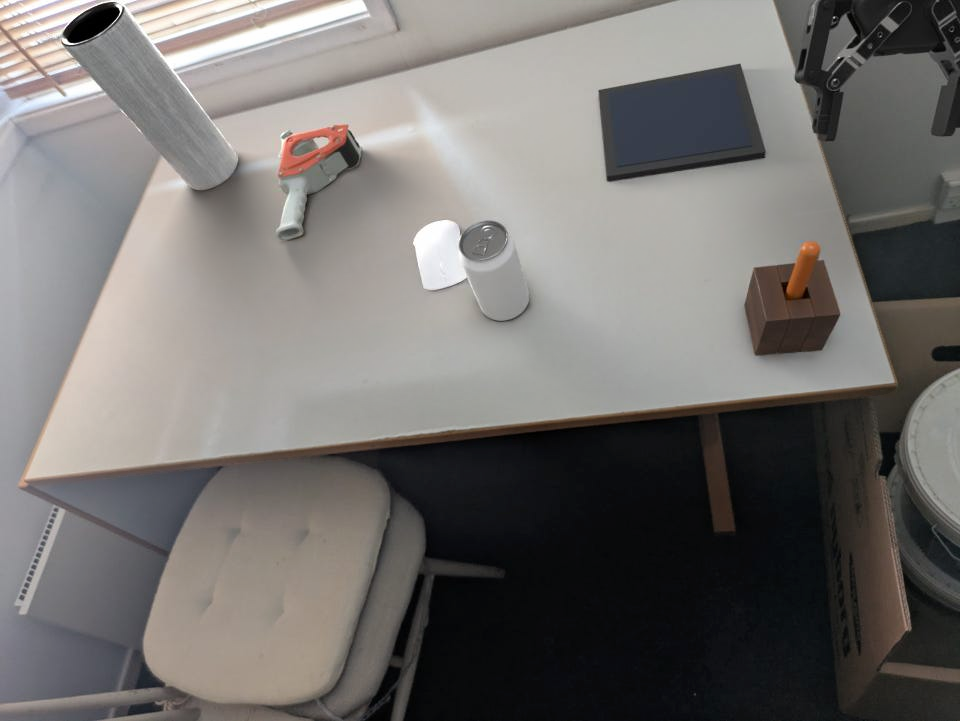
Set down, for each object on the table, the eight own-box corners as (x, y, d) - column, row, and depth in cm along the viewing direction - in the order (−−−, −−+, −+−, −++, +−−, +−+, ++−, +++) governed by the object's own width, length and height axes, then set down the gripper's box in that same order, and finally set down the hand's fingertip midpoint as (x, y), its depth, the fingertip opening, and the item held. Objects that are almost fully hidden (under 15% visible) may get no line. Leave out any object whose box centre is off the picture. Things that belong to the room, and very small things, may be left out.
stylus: (788, 320, 65) (820, 236, 53) (791, 332, 64) (824, 250, 52) (772, 321, 65) (800, 238, 53) (775, 333, 64) (804, 252, 52)
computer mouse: (423, 294, 79) (417, 284, 77) (413, 230, 85) (407, 219, 83) (471, 279, 78) (467, 269, 76) (457, 216, 84) (453, 204, 82)
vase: (209, 198, 100) (80, 52, 77) (177, 181, 105) (47, 38, 82) (249, 158, 103) (136, 6, 80) (217, 143, 107) (101, -5, 85)
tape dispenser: (294, 255, 91) (390, 171, 92) (274, 234, 86) (377, 147, 88) (243, 199, 99) (333, 123, 101) (222, 177, 94) (317, 99, 96)
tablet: (739, 69, 85) (740, 62, 84) (764, 157, 76) (766, 151, 75) (598, 95, 89) (598, 89, 88) (607, 181, 81) (606, 175, 80)
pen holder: (807, 298, 65) (823, 259, 59) (822, 350, 62) (841, 314, 56) (743, 305, 67) (753, 267, 61) (755, 355, 63) (766, 321, 58)
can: (537, 285, 75) (520, 221, 65) (519, 327, 72) (499, 267, 62) (491, 276, 77) (467, 213, 67) (472, 317, 75) (445, 258, 65)
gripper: (842, -109, 40) (802, 146, 46) (1092, -139, 37) (1011, 137, 43) (807, -80, 46) (777, 139, 53) (1016, -104, 44) (956, 130, 50)
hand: (883, 138), depth 48 cm, fingers open, 8 cm apart
